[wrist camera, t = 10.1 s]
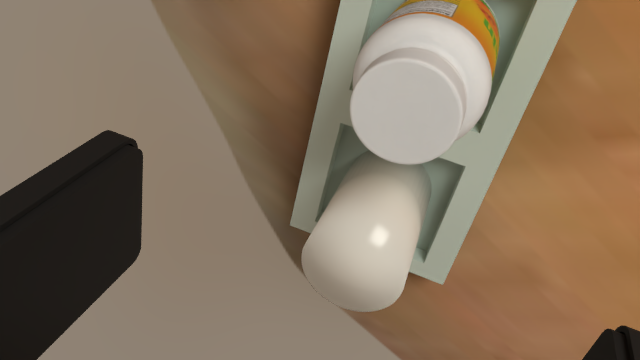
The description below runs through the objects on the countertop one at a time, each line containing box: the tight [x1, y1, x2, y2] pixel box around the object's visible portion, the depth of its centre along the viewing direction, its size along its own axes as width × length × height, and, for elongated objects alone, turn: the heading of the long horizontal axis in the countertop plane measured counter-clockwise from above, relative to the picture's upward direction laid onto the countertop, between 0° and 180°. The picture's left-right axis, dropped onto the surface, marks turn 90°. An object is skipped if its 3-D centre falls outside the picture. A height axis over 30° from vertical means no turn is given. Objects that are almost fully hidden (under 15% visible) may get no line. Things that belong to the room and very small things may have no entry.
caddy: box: [290, 0, 577, 285], centre depth 29 cm, size 18×10×2 cm, turn 167°
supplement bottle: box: [350, 0, 500, 165], centre depth 23 cm, size 5×5×10 cm
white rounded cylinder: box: [301, 150, 432, 312], centre depth 28 cm, size 5×5×8 cm
